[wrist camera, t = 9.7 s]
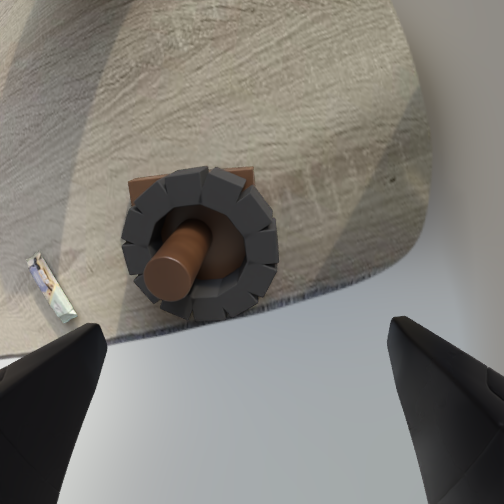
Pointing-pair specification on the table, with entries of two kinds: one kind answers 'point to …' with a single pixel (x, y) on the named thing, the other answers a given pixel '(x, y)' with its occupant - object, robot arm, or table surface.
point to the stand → (192, 244)
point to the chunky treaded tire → (223, 201)
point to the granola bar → (50, 288)
